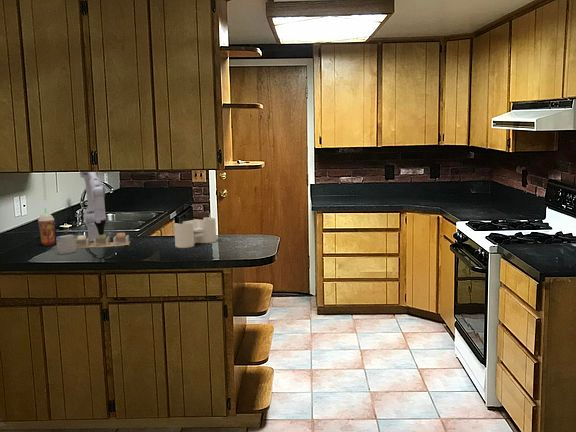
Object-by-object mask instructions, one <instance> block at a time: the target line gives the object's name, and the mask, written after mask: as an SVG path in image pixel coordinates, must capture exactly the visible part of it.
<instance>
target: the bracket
mask: <svg viewBox="0 0 576 432" xmlns="http://www.w3.org/2000/svg"><path fill="white" fill-rule="evenodd" d="M173 227H174V245H175V248H179V249H187V248H193V247H195V244H197V243H198V244H209V243H210V244H211V243H215V242H217V228H216V227H217V226H216V218H215V217H203V219H191V220H186V221H182V223H173Z"/></svg>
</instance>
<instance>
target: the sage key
mask: <svg viewBox="0 0 576 432" xmlns="http://www.w3.org/2000/svg"><path fill="white" fill-rule="evenodd" d="M106 237H107V234H106V233H104V234H103V235H99V234H98V235H97V239H105V238H106Z"/></svg>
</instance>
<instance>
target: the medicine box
mask: <svg viewBox="0 0 576 432" xmlns="http://www.w3.org/2000/svg"><path fill="white" fill-rule="evenodd" d="M75 239H76V235H75V234H66V235H60V236H55V241H56V249H57V250H56V251H57V255H61V256H63V255H67V254H72V253H77V249H76V243H75Z"/></svg>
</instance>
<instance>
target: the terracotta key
mask: <svg viewBox="0 0 576 432" xmlns="http://www.w3.org/2000/svg"><path fill="white" fill-rule="evenodd" d="M125 235H126V232H117V233H116V236H117V238H121V237H125Z"/></svg>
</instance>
